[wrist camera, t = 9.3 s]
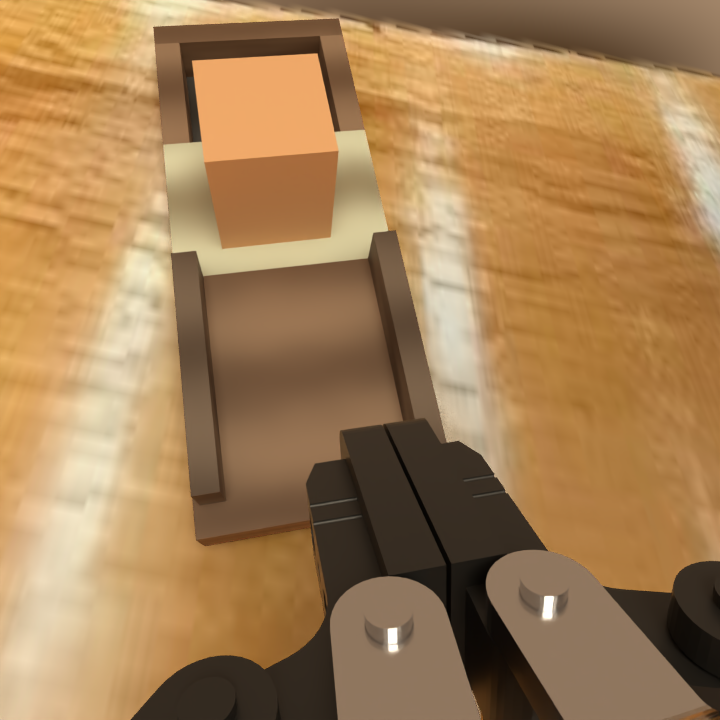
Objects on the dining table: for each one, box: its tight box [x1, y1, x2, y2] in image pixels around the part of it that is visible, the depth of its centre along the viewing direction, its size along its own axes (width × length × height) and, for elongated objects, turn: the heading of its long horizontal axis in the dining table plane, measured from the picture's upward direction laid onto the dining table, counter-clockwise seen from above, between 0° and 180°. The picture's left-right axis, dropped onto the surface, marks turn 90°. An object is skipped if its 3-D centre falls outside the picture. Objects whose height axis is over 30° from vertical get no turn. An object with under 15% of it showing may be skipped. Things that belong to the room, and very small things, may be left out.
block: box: [192, 54, 339, 249], centre depth 31 cm, size 6×6×7 cm
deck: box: [153, 19, 446, 546], centre depth 34 cm, size 32×12×6 cm, turn 10°
